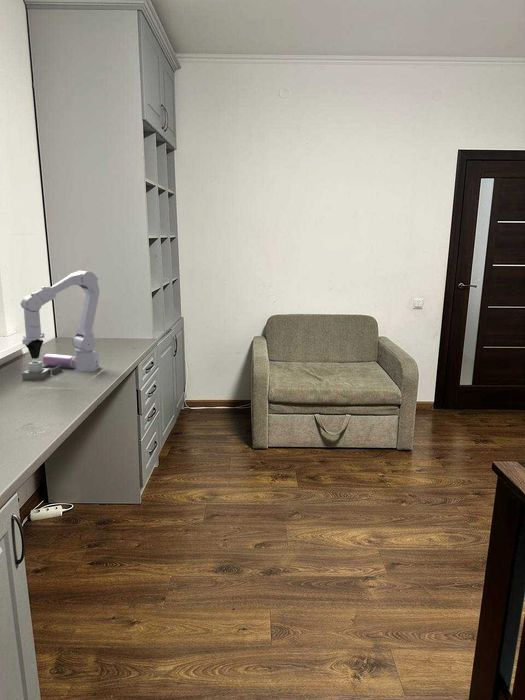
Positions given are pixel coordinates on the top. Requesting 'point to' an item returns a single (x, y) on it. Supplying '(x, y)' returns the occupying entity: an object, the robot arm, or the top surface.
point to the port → (36, 374)
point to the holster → (54, 369)
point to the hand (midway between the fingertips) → (35, 358)
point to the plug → (35, 366)
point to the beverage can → (59, 361)
